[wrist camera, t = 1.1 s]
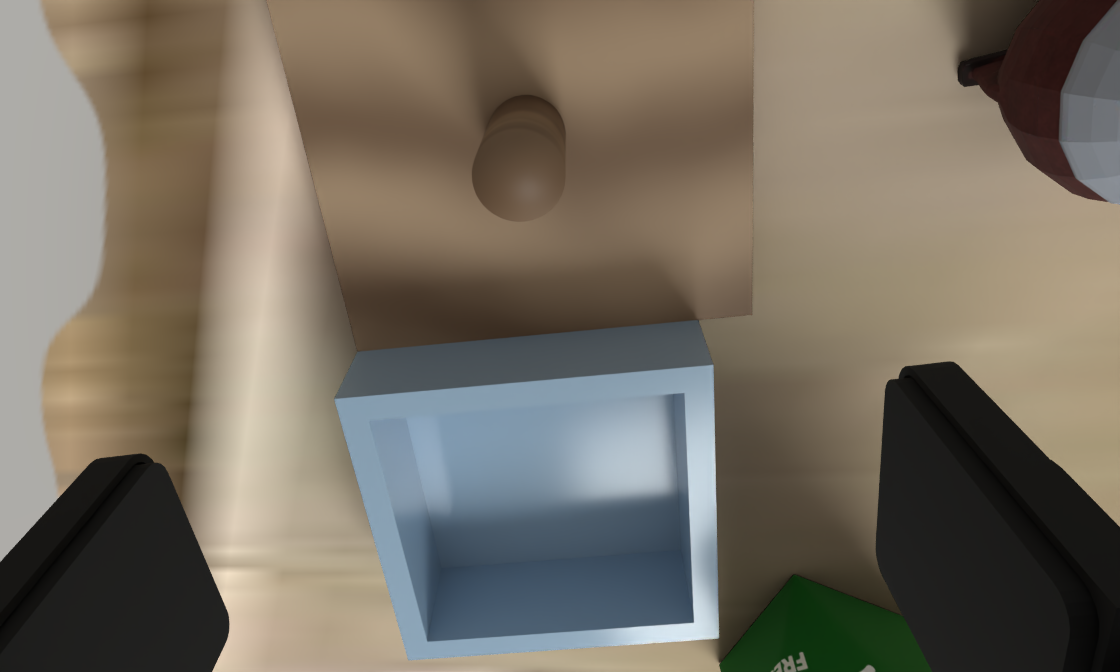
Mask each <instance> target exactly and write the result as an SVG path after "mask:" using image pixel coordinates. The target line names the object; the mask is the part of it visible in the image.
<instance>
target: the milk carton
mask: <svg viewBox="0 0 1120 672" xmlns="http://www.w3.org/2000/svg"><path fill="white" fill-rule="evenodd" d="M719 666H720V670H721V672H932V670H931V668H930V667H929V665H928V663H927V661H926V659H925V657H924V655H923V653H922V651H921V649H920V647H919V645H918V644H917V642H916V640H915V638H914V636H913V634H912V632H911V630H910V628H909V626H908V624H907V622H906V621H905V619H904V617H903V616H901V615H898V614H896V613H893V612H891V611H888V610H885V609H883V608H880V607H878V606H875V605H872V604H870V603H867V602H865V601H862V600H859V599H857V598H854V597H852V596H849V595H846V594H844V593H841V592H839V591H836V590H833V589H831V588H828V587H826V586H823V585H820V584H818V583H815V582H813V581H810V580H807V579H805V578H802V577H800V576H797V575H793V576H792V577H791V579H790V580H789V581H788V582H787V583H786V585H785V586H784V587H783V588H782V589H781V591H780V592H779V593H778V594H777V596H776V597H775V598H774V599H773V600H772V602H771V603H770V604H769V605H768V606H767V608H766V609H765V610H764V611H763V612H762V614H761V615H760V616H759V617H758V619H757V620H756V621H755V622H754V623H753V625H752V626H751V627H750V628H749V629H748V631H747V632H746V633H745V634H744V635H743V637H742V638H741V639H740V640H739V642H738V643H737V644H736V645H735V646H734V648H733V649H732V650H731V651H730V652H729V654H728V655H727V656H726V657H725V659H724V660H723V661H722V662H721V663H720V664H719Z"/></svg>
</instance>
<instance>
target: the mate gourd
mask: <svg viewBox="0 0 1120 672" xmlns="http://www.w3.org/2000/svg"><path fill="white" fill-rule="evenodd" d="M958 81H959V83H960V84H961V85H963V86H964V87H967V86H974V85H979V86H980V87H981V89H982V90H983V91H984V92H985V93H986V94H987V96H989V97H990V98H992V99H993V100H995V101H996V102H998V105H999V108H1000V111H1001V114H1002V117H1003V119H1004V121H1005V123H1006V125H1007V127H1008V128H1009V130H1010V132H1011V134H1012V136H1013V137H1014V139H1015V141H1016V143H1017V145H1018V146H1019V148H1020V150H1021V151H1022V153H1023V155H1024V157H1025V158H1026V160H1027V161H1028V162H1030V163H1031V164H1032V165H1033V166H1035V167H1036V168H1037V169H1039V170H1040V171H1041V172H1043V173H1044V174H1046V175H1047V176H1048V177H1050V178H1051V179H1053V180H1054V181H1055V182H1057V183H1058V184H1060V185H1061V186H1062V187H1064V188H1065V189H1067V190H1068V191H1070V192H1071V193H1073V194H1076V195H1079V196H1081V197H1084V198H1087V199H1092V200H1099V201H1105V202H1110V203H1113V204H1120V0H1040V1H1039V2H1038V3H1037V4H1036V5H1035V7H1034V8H1033V9H1032V10H1031V11H1030V13H1029V14H1028V15H1027V16H1026V18H1025V19H1024V20H1023V21H1022V22H1021V24H1020V25H1019V26H1018V27H1017V29H1016V31H1015V34H1014V36H1013V39H1012V41H1011V43H1010V46H1009V48H1008V50H1005V51H1000V52H996V53H992V54H988V55H984V56H980V57H976V58H973V59H970V60H966V61H963V62H960V65H959V67H958Z"/></svg>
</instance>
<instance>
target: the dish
mask: <svg viewBox="0 0 1120 672" xmlns="http://www.w3.org/2000/svg"><path fill="white" fill-rule="evenodd" d="M334 400H335V404H336V407H337V411H338V414H339V418H340V421H341V425H342V428H343V432H344V435H345V439H346V443H347V446H348V450H349V453H350V457H351V460H352V464H353V467H354V471H355V474H356V478H357V481H358V485H359V488H360V492H361V495H362V499H363V502H364V506H365V509H366V513H367V516H368V520H369V524H370V527H371V531H372V534H373V538H374V541H375V545H376V548H377V552H378V555H379V559H380V562H381V566H382V569H383V573H384V576H385V580H386V583H387V587H388V590H389V594H390V597H391V601H392V604H393V608H394V612H395V615H396V619H397V622H398V626H399V629H400V633H401V636H402V640H403V643H404V647H405V650H406V654H407V657H408V660H420V659H434V658H448V657H463V656H477V655H491V654H505V653H519V652H534V651H548V650H562V649H576V648H591V647H605V646H619V645H633V644H648V643H662V642H676V641H690V640H704V639H719V609H718V561H717V514H716V466H715V418H714V370H713V362H712V359H711V356H710V353H709V350H708V348H707V345H706V342H705V339H704V336H703V333H702V330H701V327H700V324H699V321H698V320H692V321H681V322H671V323H660V324H649V325H638V326H628V327H617V328H606V329H595V330H585V331H574V332H563V333H552V334H542V335H531V336H520V337H510V338H499V339H488V340H477V341H467V342H456V343H445V344H434V345H424V346H413V347H402V348H391V349H381V350H370V351H359V352H357V354H356V356H355V358H354V360H353V362H352V364H351V366H350V368H349V370H348V372H347V374H346V376H345V378H344V380H343V382H342V384H341V386H340V388H339V390H338V392H337V394H336V396H335V398H334Z"/></svg>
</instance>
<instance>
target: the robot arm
mask: <svg viewBox="0 0 1120 672" xmlns="http://www.w3.org/2000/svg"><path fill="white" fill-rule="evenodd" d="M876 556H877V561H878V565H879V569H880V572H881V574H882V576H883V578H884V580H885V582H886V584H887V586H888V588H889V590H890V592H891V594H892V596H893V598H894V599H895V601H896V603H897V605H898V607H899V609H900V611H901V613H902V615H903V617H904V619H905V621H906V622H907V624H908V626H909V628H910V630H911V632H912V634H913V636H914V638H915V640H916V642H917V644H918V645H919V647H920V649H921V651H922V653H923V655H924V657H925V659H926V661H927V663H928V665H929V667H930V668H931V670H932V672H1120V527H1119V526H1118V525H1117V524H1116V523H1115V522H1114V521H1113V520H1112V519H1111V518H1110V517H1109V516H1108V515H1107V514H1106V513H1105V512H1104V511H1103V510H1102V508H1101V507H1100V506H1099V505H1098V504H1097V503H1096V502H1095V501H1094V500H1093V499H1092V498H1091V497H1090V496H1089V495H1088V494H1087V493H1086V492H1085V491H1084V490H1083V489H1082V488H1081V487H1080V486H1079V485H1078V484H1077V483H1076V482H1075V481H1074V480H1073V479H1072V478H1071V477H1070V476H1069V475H1068V474H1067V473H1066V472H1065V471H1064V470H1063V469H1062V468H1061V467H1060V466H1058V465H1057V464H1056V463H1055V462H1053V461H1052V460H1050V459H1049V458H1048V457H1047V456H1046V455H1045V454H1044V453H1043V452H1042V451H1041V450H1040V449H1039V448H1038V447H1037V446H1036V445H1035V444H1034V443H1033V441H1032V440H1031V439H1030V438H1029V437H1028V436H1027V435H1026V434H1025V433H1024V432H1023V431H1022V430H1021V429H1020V428H1019V427H1018V426H1017V425H1016V424H1015V423H1014V422H1013V421H1012V420H1011V419H1010V418H1009V417H1008V416H1007V415H1006V414H1005V413H1004V412H1003V411H1002V410H1001V409H1000V408H999V407H998V405H997V404H996V403H995V402H994V401H993V400H992V399H991V398H990V397H989V396H988V395H987V394H986V393H985V392H984V391H983V390H982V389H981V388H980V387H979V386H978V385H977V384H976V383H975V382H974V381H973V380H972V379H971V378H970V377H969V376H968V375H967V374H966V373H965V372H964V371H963V369H962V368H961V367H960V366H959V365H957V364H956V363H954V362H940V363H932V364H923V365H914V366H905V367H904V368H903V369H902V370H901V372H900V375H899V379H893V380H889V381H888V382H887V385H886V389H885V400H884V417H883V433H882V450H881V466H880V483H879V499H878V516H877V532H876ZM228 633H229V616H228V612H227V609H226V607H225V605H224V602H223V600H222V598H221V595H220V593H219V591H218V588H217V586H216V584H215V581H214V579H213V577H212V574H211V572H210V570H209V567H208V565H207V563H206V560H205V558H204V556H203V553H202V551H201V549H200V546H199V544H198V542H197V539H196V537H195V535H194V532H193V530H192V528H191V525H190V523H189V521H188V518H187V516H186V514H185V511H184V509H183V507H182V504H181V502H180V500H179V497H178V495H177V493H176V490H175V488H174V486H173V483H172V481H171V478H170V476H169V474H168V472H167V470H166V468H165V467H164V466H163V465H162V464H159V463H154V462H153V460H152V459H151V458H150V457H149V456H147V455H145V454H132V455H124V456H115V457H106V458H100V459H96V460H94V461H93V462H92V463H90V464H89V465H88V466H87V468H86V469H85V470H84V471H83V472H82V473H81V474H80V475H79V476H78V477H77V478H76V480H75V481H74V482H73V483H72V484H71V485H70V486H69V487H68V488H67V489H66V491H65V492H64V493H63V494H62V495H61V496H60V497H59V498H58V499H57V500H56V502H55V503H54V504H53V505H52V506H51V507H50V508H49V509H48V510H47V511H46V512H45V514H44V515H43V516H42V517H41V518H40V519H39V520H38V521H37V522H36V524H35V525H34V526H33V527H32V528H31V529H30V530H29V531H28V532H27V533H26V534H25V536H24V537H23V538H22V539H21V540H20V541H19V542H18V543H17V544H16V545H15V547H14V548H13V549H12V550H11V551H10V552H9V553H8V554H7V555H6V556H5V557H4V559H3V560H2V561H1V562H0V672H212V670H213V668H214V666H215V664H216V662H217V660H218V658H219V656H220V654H221V652H222V650H223V648H224V645H225V643H226V641H227V638H228Z"/></svg>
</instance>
